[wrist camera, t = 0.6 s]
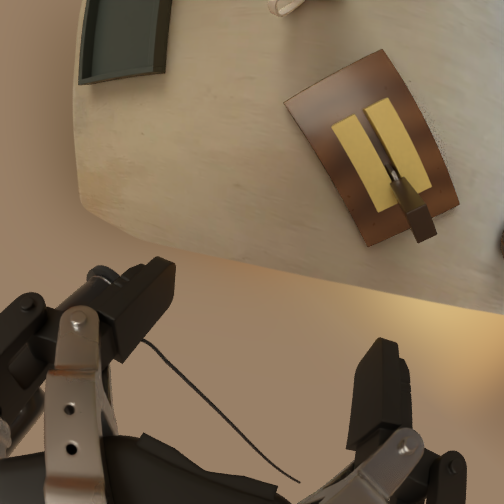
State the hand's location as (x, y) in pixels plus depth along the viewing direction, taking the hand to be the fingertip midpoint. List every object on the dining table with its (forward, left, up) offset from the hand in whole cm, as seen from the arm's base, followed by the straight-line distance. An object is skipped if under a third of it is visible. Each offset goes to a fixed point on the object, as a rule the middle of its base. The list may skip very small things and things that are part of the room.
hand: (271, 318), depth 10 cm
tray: (+30, +14, -23) cm, 41 cm away
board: (+1, -7, -23) cm, 24 cm away
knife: (-2, -7, -22) cm, 23 cm away
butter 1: (+1, -5, -22) cm, 23 cm away
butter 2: (+1, -8, -22) cm, 24 cm away
